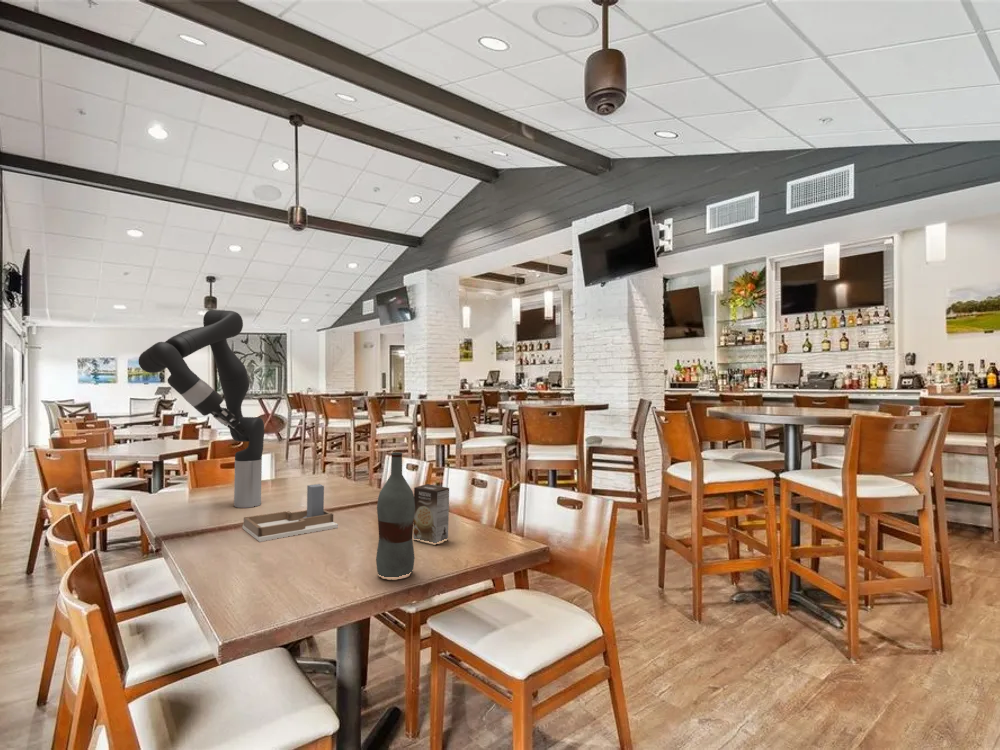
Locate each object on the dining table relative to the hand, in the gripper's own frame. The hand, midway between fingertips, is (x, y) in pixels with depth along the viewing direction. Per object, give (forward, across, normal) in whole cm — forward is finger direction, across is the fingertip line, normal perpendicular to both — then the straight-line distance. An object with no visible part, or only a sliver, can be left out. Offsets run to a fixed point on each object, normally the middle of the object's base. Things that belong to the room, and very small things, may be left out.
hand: (242, 432), depth 169 cm
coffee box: (+51, -48, -7) cm, 70 cm away
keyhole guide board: (+31, -9, +13) cm, 34 cm away
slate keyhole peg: (+35, -9, +6) cm, 37 cm away
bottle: (+35, -66, +9) cm, 75 cm away
